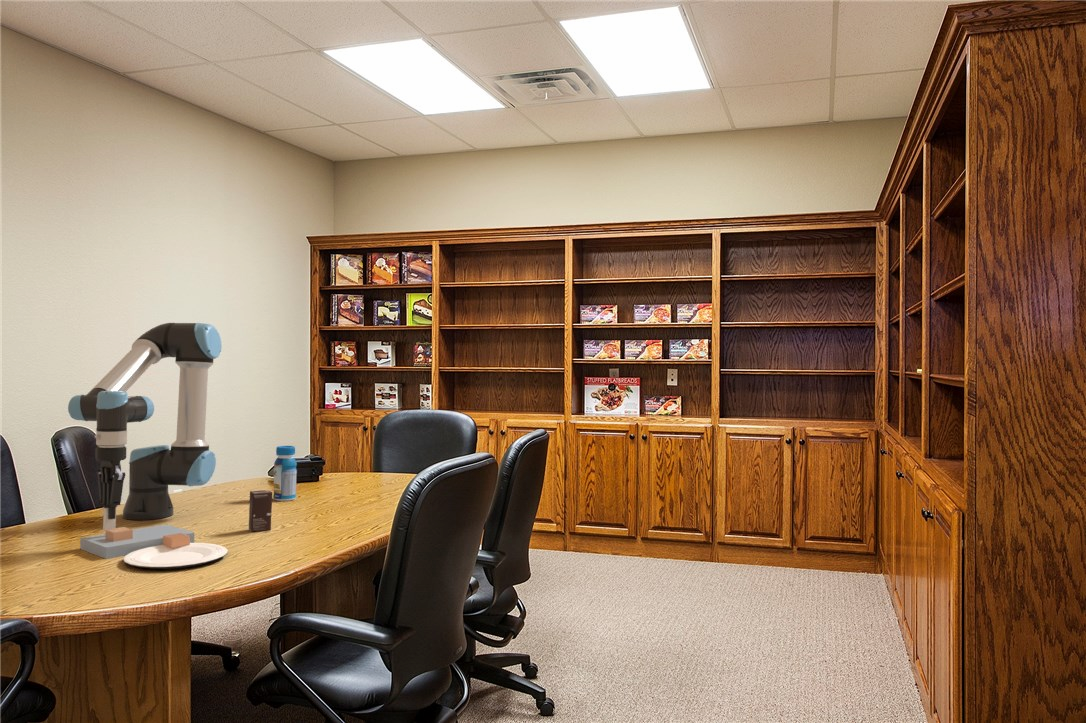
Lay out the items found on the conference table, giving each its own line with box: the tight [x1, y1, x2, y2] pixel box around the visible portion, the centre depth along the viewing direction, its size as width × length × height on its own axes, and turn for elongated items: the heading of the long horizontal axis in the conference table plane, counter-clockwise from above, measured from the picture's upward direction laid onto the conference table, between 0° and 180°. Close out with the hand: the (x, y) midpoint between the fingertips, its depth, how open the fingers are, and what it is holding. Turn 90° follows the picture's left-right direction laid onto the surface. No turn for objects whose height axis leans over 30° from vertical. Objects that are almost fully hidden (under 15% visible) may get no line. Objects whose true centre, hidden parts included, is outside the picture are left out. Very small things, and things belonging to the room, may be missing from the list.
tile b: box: [105, 526, 134, 542], centre depth 213 cm, size 5×5×2 cm
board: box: [79, 524, 195, 560], centre depth 218 cm, size 16×24×3 cm, turn 142°
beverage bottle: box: [272, 445, 298, 502], centre depth 292 cm, size 8×8×20 cm
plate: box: [122, 542, 228, 570], centre depth 205 cm, size 25×25×2 cm
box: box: [248, 489, 273, 533], centre depth 241 cm, size 6×4×12 cm
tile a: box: [163, 533, 190, 548], centre depth 214 cm, size 5×5×2 cm
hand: (109, 530), depth 216 cm, fingers closed
